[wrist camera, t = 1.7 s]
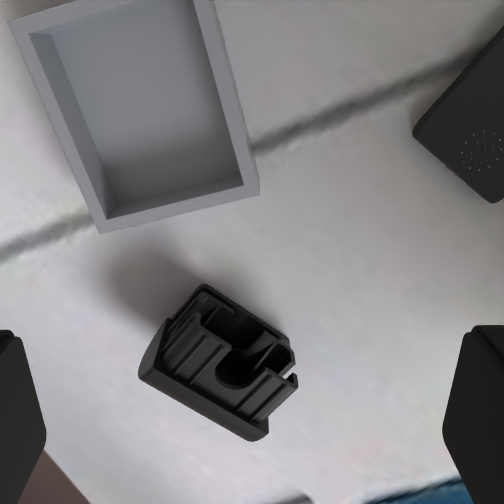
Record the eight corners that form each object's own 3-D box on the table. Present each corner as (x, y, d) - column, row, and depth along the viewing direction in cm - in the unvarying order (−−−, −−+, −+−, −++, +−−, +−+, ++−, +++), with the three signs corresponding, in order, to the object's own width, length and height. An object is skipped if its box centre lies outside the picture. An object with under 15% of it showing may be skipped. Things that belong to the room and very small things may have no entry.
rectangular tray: (206, -28, 27) (198, -38, 23) (259, 176, 32) (259, 194, 28) (39, 23, 28) (7, 21, 24) (116, 212, 33) (99, 234, 29)
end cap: (148, 337, 38) (128, 395, 32) (197, 277, 35) (186, 327, 29) (244, 395, 40) (243, 459, 34) (296, 342, 38) (305, 401, 32)
